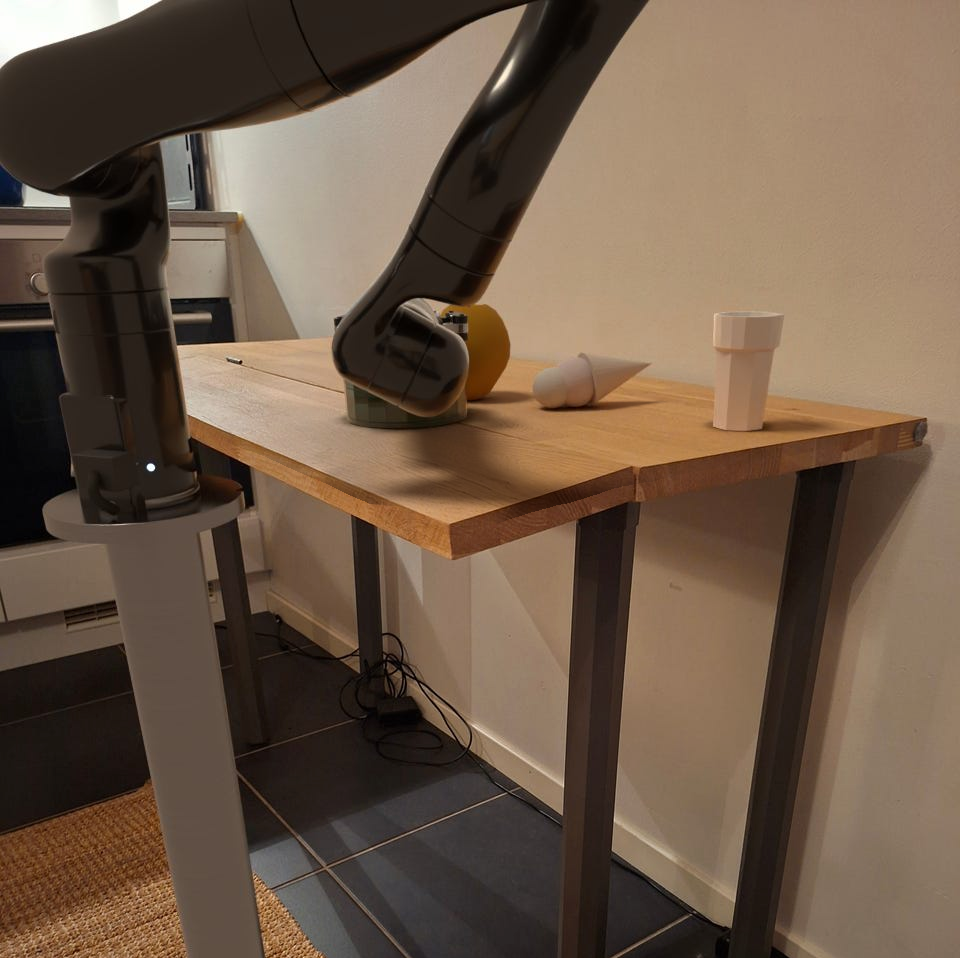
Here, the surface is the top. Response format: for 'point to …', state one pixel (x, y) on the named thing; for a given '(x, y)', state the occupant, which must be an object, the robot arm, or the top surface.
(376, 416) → the pot
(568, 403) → the ice cream cone
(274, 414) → the top surface
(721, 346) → the cup
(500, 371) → the apple
